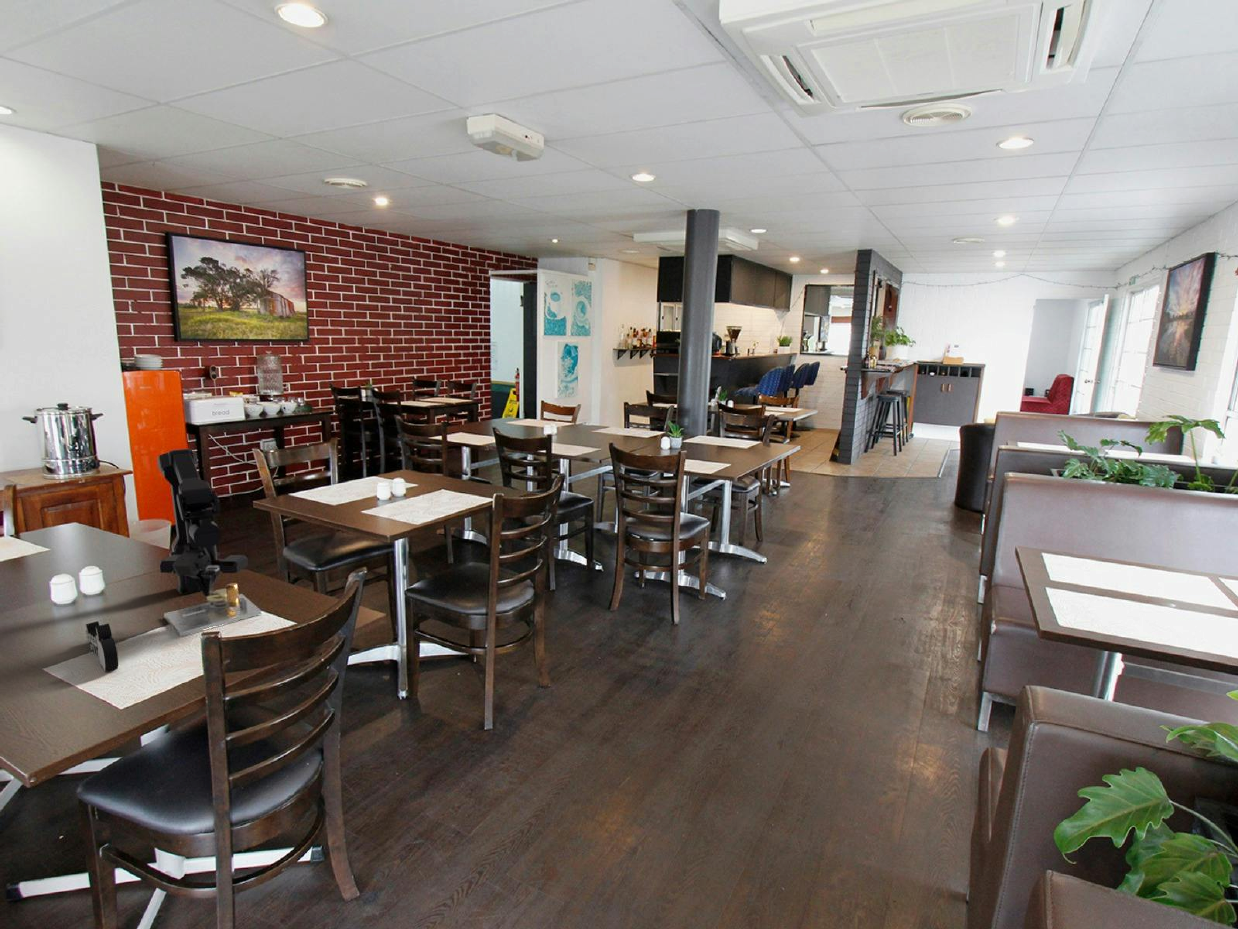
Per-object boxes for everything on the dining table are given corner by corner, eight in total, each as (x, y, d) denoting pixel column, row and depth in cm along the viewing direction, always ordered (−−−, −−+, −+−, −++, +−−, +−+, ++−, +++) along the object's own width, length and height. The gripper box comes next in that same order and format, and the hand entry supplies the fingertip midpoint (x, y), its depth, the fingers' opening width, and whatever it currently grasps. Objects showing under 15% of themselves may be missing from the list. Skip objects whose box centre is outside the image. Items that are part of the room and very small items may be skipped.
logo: (120, 670, 137) (112, 625, 137) (107, 674, 136) (99, 628, 135) (102, 656, 152) (95, 615, 151) (91, 660, 150) (83, 618, 150)
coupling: (203, 598, 168) (200, 577, 167) (229, 590, 173) (227, 570, 172) (222, 611, 161) (219, 590, 160) (249, 603, 166) (247, 582, 164)
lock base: (164, 617, 164) (162, 604, 163) (242, 597, 177) (241, 585, 176) (180, 637, 154) (178, 623, 153) (261, 614, 167) (260, 601, 166)
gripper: (139, 547, 150) (148, 609, 154) (220, 548, 151) (227, 609, 154) (170, 532, 161) (178, 590, 164) (246, 533, 162) (252, 591, 165)
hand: (208, 595), depth 162 cm, fingers closed
